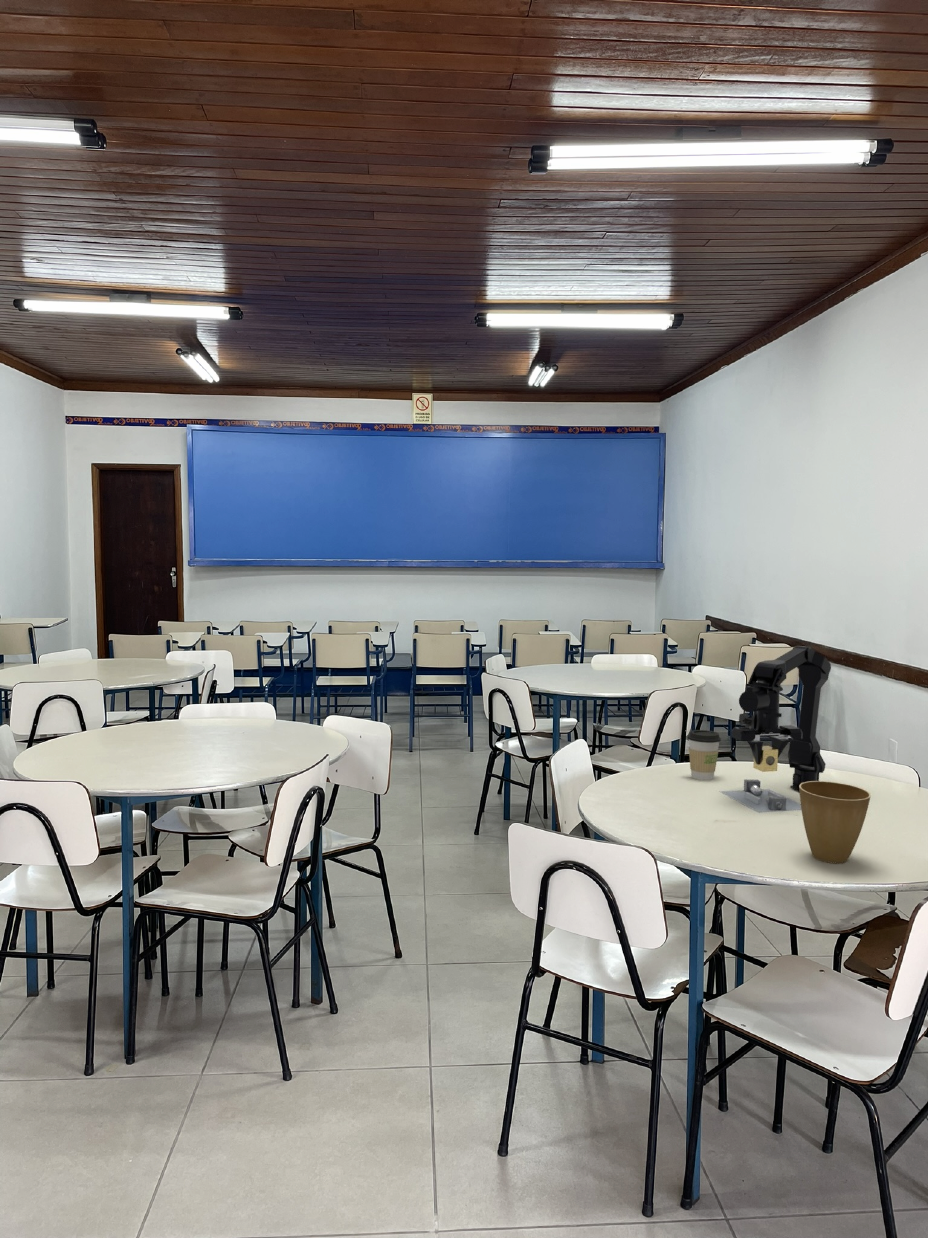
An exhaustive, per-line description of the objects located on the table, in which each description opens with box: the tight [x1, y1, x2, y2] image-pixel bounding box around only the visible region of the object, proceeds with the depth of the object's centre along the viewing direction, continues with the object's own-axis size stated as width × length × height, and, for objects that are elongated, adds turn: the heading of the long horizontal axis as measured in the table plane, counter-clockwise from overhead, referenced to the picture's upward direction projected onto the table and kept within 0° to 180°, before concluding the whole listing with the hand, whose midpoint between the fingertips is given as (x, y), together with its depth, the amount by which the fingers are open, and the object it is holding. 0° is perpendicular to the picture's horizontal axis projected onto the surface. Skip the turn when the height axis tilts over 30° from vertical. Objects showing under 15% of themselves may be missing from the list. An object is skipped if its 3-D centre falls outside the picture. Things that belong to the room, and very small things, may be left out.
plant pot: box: [798, 780, 871, 864], centre depth 193 cm, size 15×15×16 cm
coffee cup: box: [686, 729, 722, 781], centre depth 258 cm, size 10×10×15 cm
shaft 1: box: [743, 779, 763, 796], centre depth 242 cm, size 6×4×3 cm
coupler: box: [752, 745, 779, 773], centre depth 234 cm, size 5×4×6 cm
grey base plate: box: [718, 788, 802, 813], centre depth 235 cm, size 16×20×3 cm
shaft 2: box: [766, 796, 786, 810], centre depth 228 cm, size 6×4×3 cm
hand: (765, 763), depth 234 cm, fingers closed on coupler, 4 cm apart
